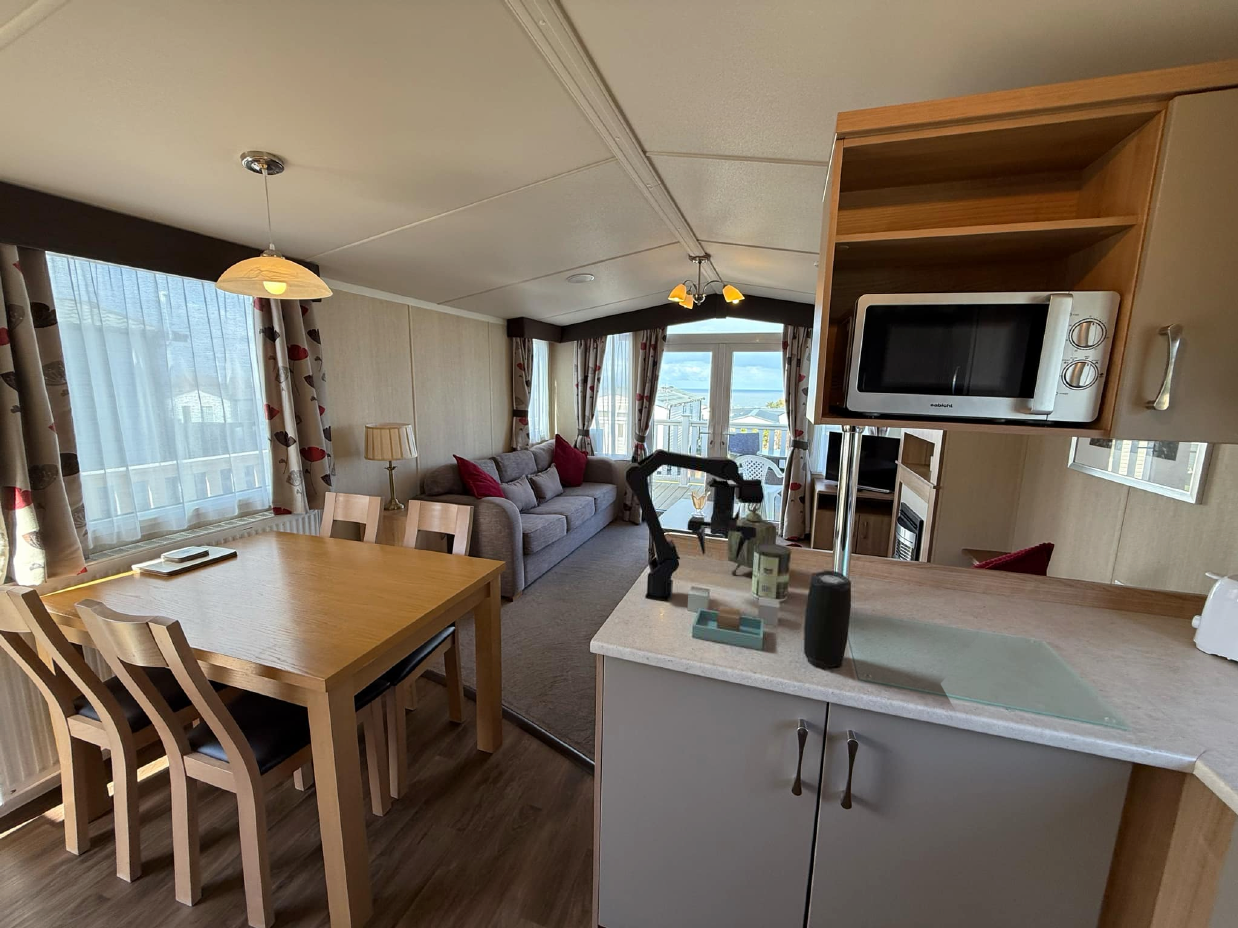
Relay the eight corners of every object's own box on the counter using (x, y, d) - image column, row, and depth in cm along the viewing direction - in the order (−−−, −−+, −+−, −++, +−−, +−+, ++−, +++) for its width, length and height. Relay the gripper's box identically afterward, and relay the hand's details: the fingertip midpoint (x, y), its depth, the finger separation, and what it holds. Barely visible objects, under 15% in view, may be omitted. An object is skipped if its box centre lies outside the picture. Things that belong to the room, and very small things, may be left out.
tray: (691, 636, 115) (692, 625, 115) (698, 619, 124) (698, 608, 124) (761, 649, 110) (762, 637, 110) (762, 630, 119) (763, 619, 119)
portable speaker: (797, 663, 105) (805, 577, 102) (807, 645, 113) (815, 565, 110) (840, 677, 100) (849, 587, 98) (847, 657, 108) (856, 574, 105)
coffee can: (781, 588, 146) (784, 543, 144) (792, 602, 136) (796, 554, 134) (746, 586, 146) (750, 542, 144) (755, 601, 136) (759, 553, 134)
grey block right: (757, 622, 124) (758, 604, 123) (758, 614, 128) (759, 596, 128) (777, 626, 122) (779, 607, 121) (777, 617, 127) (779, 599, 126)
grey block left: (687, 610, 129) (688, 593, 128) (690, 603, 134) (691, 586, 133) (706, 614, 128) (707, 596, 127) (708, 606, 132) (709, 589, 132)
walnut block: (718, 625, 120) (720, 606, 119) (739, 628, 119) (740, 609, 118) (716, 634, 116) (717, 614, 115) (737, 638, 114) (739, 618, 113)
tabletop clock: (751, 565, 165) (757, 493, 162) (775, 573, 158) (781, 498, 155) (725, 574, 156) (730, 499, 152) (749, 583, 149) (755, 504, 146)
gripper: (685, 505, 130) (682, 560, 132) (757, 512, 124) (752, 570, 127) (692, 497, 141) (689, 548, 143) (758, 503, 135) (754, 557, 137)
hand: (720, 556), depth 137 cm, fingers open, 9 cm apart
